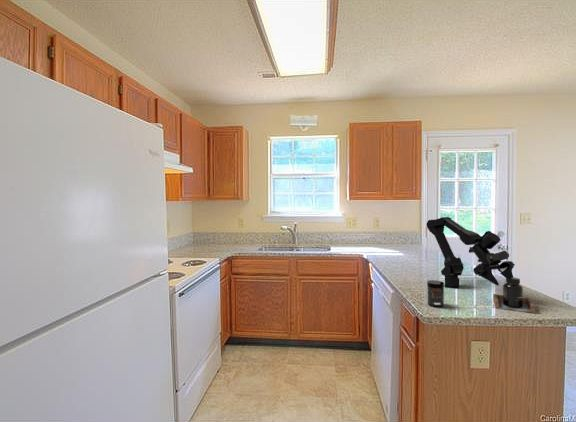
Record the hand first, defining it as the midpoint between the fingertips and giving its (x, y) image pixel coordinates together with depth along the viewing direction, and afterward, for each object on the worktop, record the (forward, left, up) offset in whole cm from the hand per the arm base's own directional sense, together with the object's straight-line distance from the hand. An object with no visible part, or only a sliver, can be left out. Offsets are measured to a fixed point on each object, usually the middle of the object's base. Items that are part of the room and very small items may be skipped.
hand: (506, 284), depth 130 cm
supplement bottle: (+2, -2, -9) cm, 9 cm away
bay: (+2, -2, -9) cm, 10 cm away
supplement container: (-27, -15, -9) cm, 32 cm away
